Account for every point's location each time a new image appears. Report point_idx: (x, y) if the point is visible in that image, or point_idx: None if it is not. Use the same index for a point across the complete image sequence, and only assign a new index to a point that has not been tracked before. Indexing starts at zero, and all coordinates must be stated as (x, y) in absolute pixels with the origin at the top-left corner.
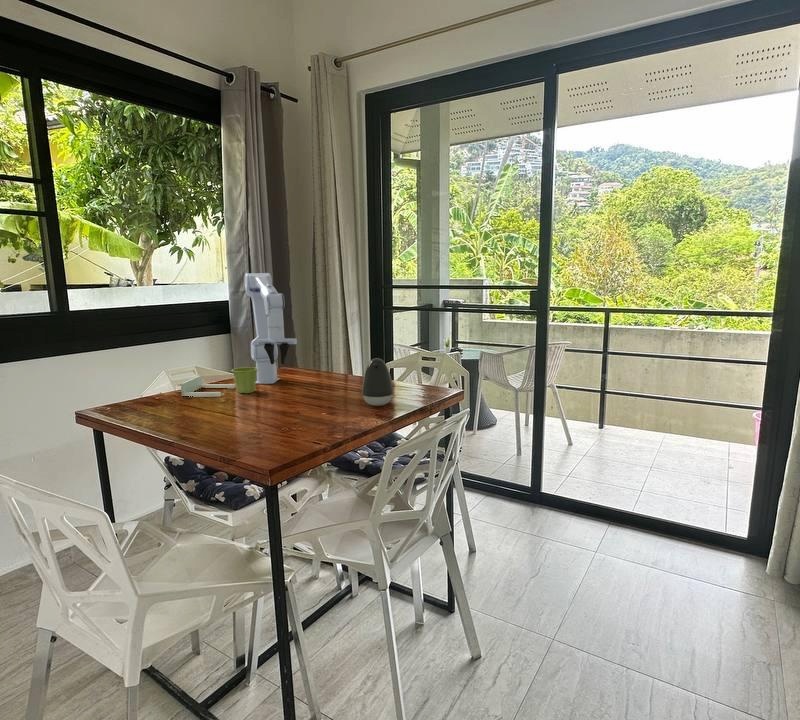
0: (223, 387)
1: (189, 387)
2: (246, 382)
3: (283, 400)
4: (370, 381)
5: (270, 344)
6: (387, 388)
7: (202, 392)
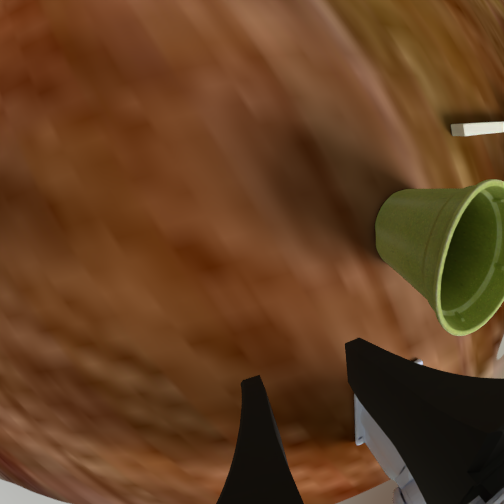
0: None
1: None
2: (423, 198)
3: (108, 87)
4: None
5: (487, 486)
6: None
7: (500, 127)
